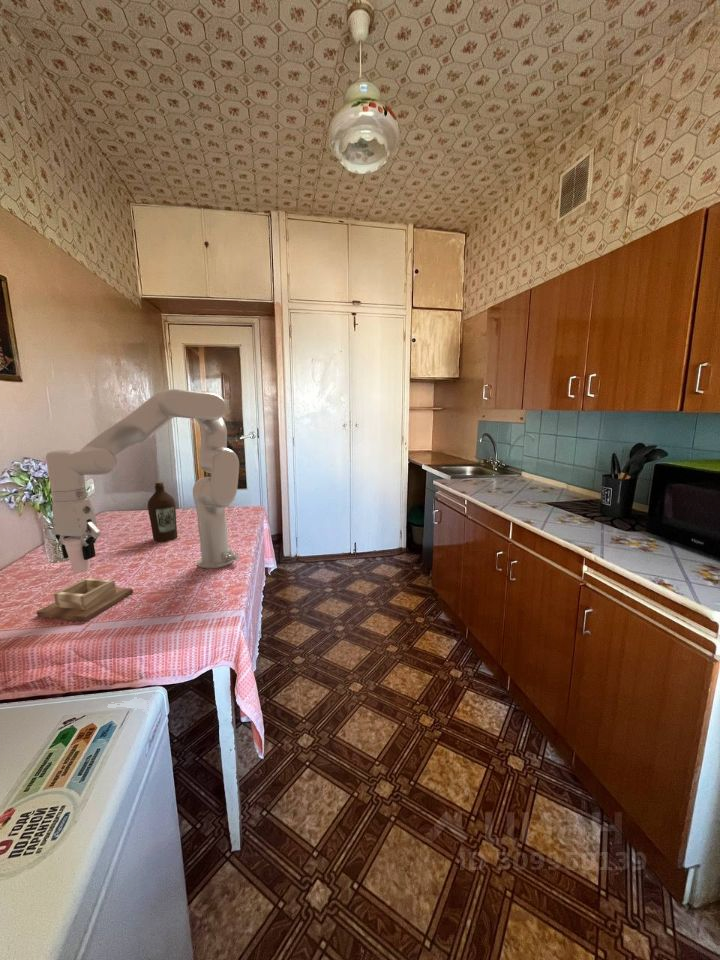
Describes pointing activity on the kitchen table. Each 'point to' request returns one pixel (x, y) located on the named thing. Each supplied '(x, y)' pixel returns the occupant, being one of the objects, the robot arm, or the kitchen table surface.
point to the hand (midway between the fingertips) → (79, 556)
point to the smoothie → (76, 554)
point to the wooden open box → (85, 600)
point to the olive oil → (162, 515)
